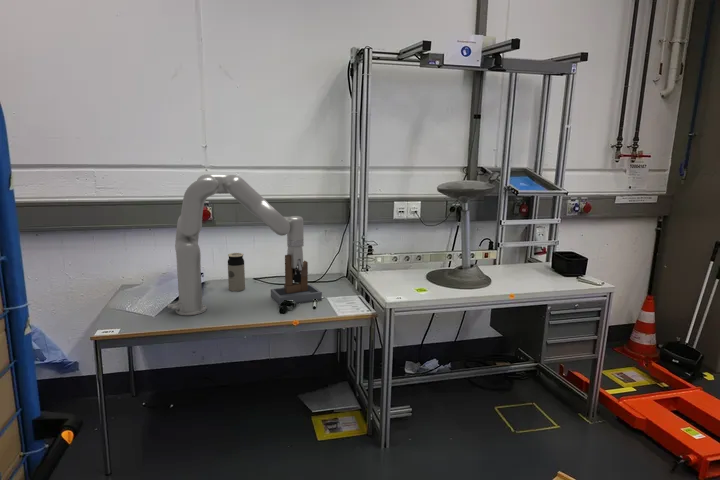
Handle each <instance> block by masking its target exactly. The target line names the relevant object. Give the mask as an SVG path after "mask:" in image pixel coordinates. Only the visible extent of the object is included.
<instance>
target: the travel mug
mask: <svg viewBox="0 0 720 480" xmlns="http://www.w3.org/2000/svg"><path fill="white" fill-rule="evenodd" d="M227 256H228V259H227V278H228V279H227V280H228V290H229V291H231V292H241V291H244V290H245V289H246V277H245V276H246V275H245V274H246V273H245V260H244V253H242V252H231V253H229V254H227Z"/></svg>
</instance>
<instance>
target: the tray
mask: <svg viewBox="0 0 720 480" xmlns="http://www.w3.org/2000/svg"><path fill="white" fill-rule="evenodd" d="M270 298H271V299H272V300H273V301H274V302H275V303H276V304H277V305H278V306H279V305H280V304H281V303H282V302H283V301H284V300H294V301H295V302H296V303H297V304H296V305H300V304H305V303H307V304H308V303H313V302H312V301H313V299H317V300H318V301H317V302H320V301H322V299H323V293H322V291H321V290H319V289H318V288H317V287H315V286H314V285H313V284H312V283H311V284H309V283H308V291H302V292H295V293H288V294H287V293H285V292H284V287H277V288H271V289H270ZM299 303H300V304H299Z"/></svg>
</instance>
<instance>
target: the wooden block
mask: <svg viewBox="0 0 720 480" xmlns="http://www.w3.org/2000/svg"><path fill="white" fill-rule="evenodd" d="M308 265H309V262H308V261H307V260H303V267H302V271H301V282H298V283H295V282H294V280H293V278H294V274H295V272H294V273H293V268H292V267H291V255H289V254H287V253H286V254H285V255H284V284H283V288H284V292H285V293H287V294H288V293H295V292H302V291H308V284H309V283H308V281H309V279H308V278H309V277H308V276H309V275H308V274H309V273H308V272H309V270H308V269H309V268H308ZM297 270H298V269H297ZM297 270H296V271H297Z"/></svg>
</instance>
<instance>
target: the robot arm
mask: <svg viewBox="0 0 720 480" xmlns="http://www.w3.org/2000/svg"><path fill="white" fill-rule="evenodd" d="M216 194H218V195H223V194H226V195H231V196H232V198H234V199H235V200H236V201H237V202H239V204H241V205H242V206H243V207H244V208H245V209H246V210H247V211H248V212H249V213H251V214H252V215H253V216H255V217H256V218H258V219H259V220H261V221H262V222H263V223H264V224H265V225H266V226H268V228H270V230H271V231H272V232H273V233H275V234H276V235H277V236H286V247H287V250H286V252H287V253H286V255H287V254H289V255H291V267H292V268H293V273H294V272H295V274H294V278H293V283H298V282H301V271H302V267H303V262H304V253H303V247H304V244H305V243H304V242H305V241H304V218H303V216H300V215H292V216H291V215H290V216H284V215H282V214H281V213H280V212H279V211H278V210H276V208H274V207H273V206H272V205H271V204H270V203H269V202H268V201H267V200H266V199H265V198H264V196H262V195H261V194H260V193H259V192H257V190H255V189H254V188H253V187H252V186H251V185H250V184H249V183H248V182H247V181H246V180H245V179H243V178H242V177H240V176H239V175H236V174H202V175H200V176H199V177H198V178H197V180H195V181H193V182H192V183H191V184H190V185H189V186H188V187H187V188H186V190H185V192H184V194H183V198H182V205H181V212H180V215H179V216H178V219H177V223H176V233H175V244H174V249H175V257H176V271H177V272H176V274H177V285H178V286H177V287H178V300H177V302H175V303H168V304H167V309H171V310H175V313H176V314H178V315H180V316H194V315H199V314H200V315H201V314H203V313H204V312H205V311H207V305H205V304H203V288H202V274H201V273H202V271H201V268H202V266H201V263H202V262H201V257H202V254H201V249H200V248H201V247H200V246H199V235H200V232H201V230H202V226H203V213H204V205H205V202H206V200H207V199H208V198H209V197H212V196H214V195H216ZM297 269H298V270H297ZM296 270H297V271H296Z"/></svg>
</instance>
